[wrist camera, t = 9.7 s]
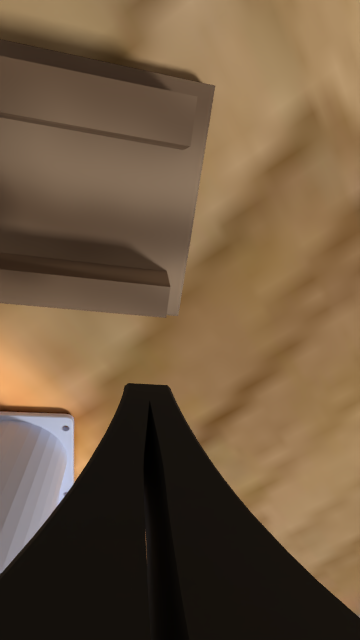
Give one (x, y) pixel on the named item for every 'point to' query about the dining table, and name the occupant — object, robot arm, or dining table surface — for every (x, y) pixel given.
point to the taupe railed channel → (96, 182)
